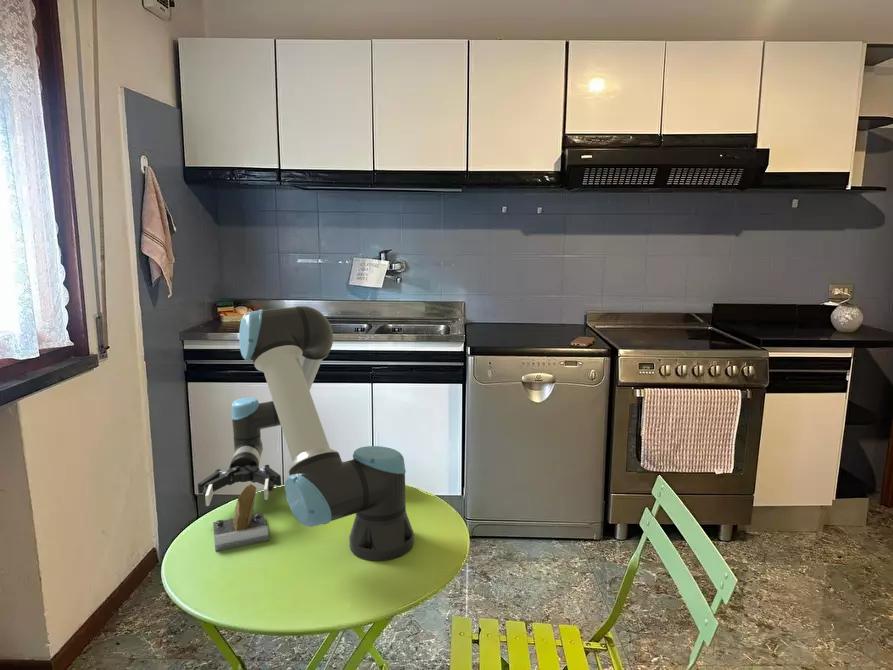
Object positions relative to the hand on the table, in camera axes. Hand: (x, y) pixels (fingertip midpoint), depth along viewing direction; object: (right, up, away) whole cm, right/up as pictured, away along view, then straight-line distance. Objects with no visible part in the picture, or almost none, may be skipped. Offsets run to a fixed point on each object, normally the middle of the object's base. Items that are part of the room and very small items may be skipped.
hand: (236, 497), depth 146 cm
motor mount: (+1, -9, +1) cm, 9 cm away
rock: (+1, -8, +2) cm, 8 cm away
